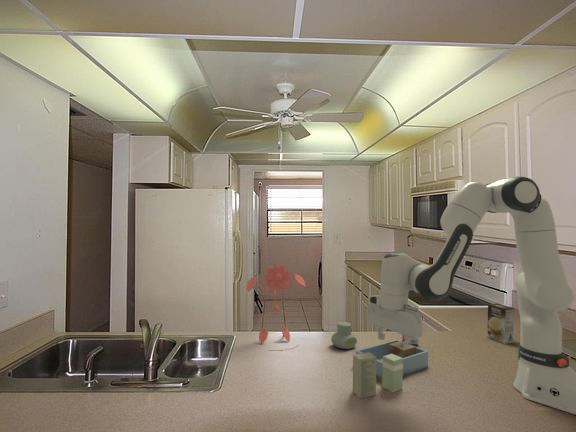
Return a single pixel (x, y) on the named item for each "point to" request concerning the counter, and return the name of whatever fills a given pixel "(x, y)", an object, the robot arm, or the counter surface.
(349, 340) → the air freshener
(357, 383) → the skincare box
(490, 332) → the coffee box
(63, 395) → the counter surface
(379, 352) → the tote
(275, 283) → the figurine
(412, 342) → the supplement box
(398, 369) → the carton
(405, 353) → the walnut block
